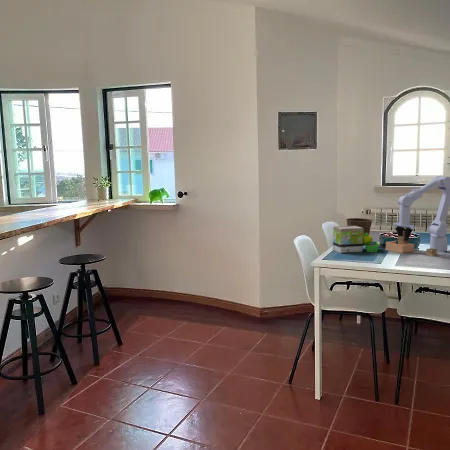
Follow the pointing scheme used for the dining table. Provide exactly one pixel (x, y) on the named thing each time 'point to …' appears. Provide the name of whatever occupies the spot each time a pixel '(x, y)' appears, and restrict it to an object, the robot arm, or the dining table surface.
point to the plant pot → (360, 224)
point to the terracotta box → (399, 247)
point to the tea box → (348, 239)
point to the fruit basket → (370, 243)
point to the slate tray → (407, 253)
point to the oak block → (431, 252)
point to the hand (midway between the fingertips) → (403, 239)
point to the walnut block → (402, 240)
